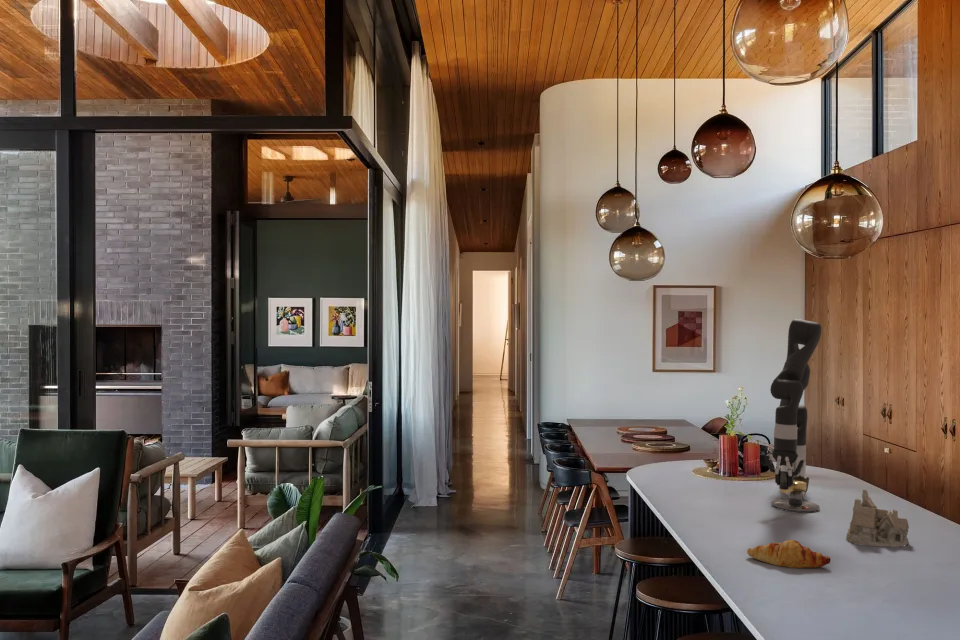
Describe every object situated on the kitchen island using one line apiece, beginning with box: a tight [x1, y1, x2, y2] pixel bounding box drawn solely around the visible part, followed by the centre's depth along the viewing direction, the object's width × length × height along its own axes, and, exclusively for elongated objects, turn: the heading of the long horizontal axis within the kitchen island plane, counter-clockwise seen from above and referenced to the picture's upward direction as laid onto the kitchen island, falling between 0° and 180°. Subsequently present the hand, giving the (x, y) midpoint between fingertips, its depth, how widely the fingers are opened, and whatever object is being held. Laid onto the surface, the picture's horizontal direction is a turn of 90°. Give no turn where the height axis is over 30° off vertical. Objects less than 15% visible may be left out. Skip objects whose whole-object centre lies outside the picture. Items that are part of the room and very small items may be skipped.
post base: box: [771, 491, 821, 513], centre depth 273 cm, size 16×16×6 cm
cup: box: [793, 475, 810, 499], centre depth 288 cm, size 8×7×8 cm
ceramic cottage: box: [845, 489, 910, 547], centre depth 231 cm, size 16×16×15 cm
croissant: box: [746, 538, 831, 569], centre depth 208 cm, size 21×10×8 cm, turn 68°
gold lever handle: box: [778, 471, 806, 494], centre depth 270 cm, size 15×7×8 cm, turn 135°
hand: (784, 485), depth 266 cm, fingers closed on gold lever handle, 3 cm apart
